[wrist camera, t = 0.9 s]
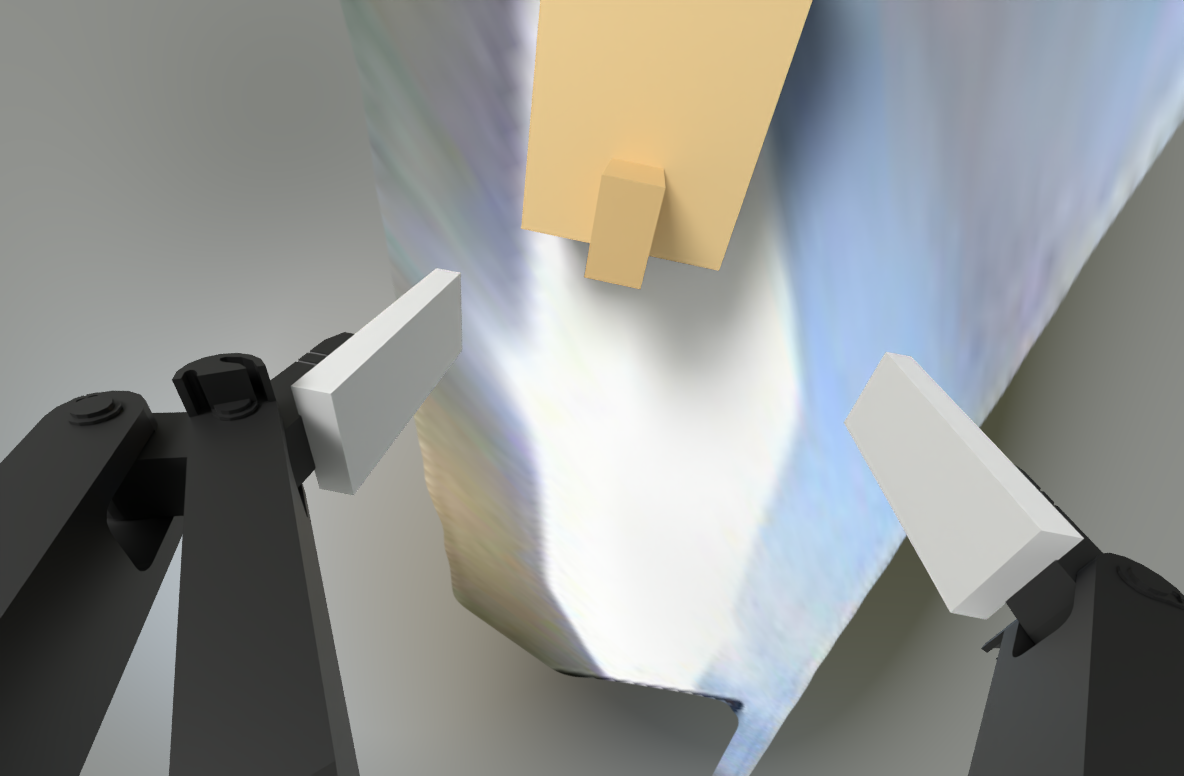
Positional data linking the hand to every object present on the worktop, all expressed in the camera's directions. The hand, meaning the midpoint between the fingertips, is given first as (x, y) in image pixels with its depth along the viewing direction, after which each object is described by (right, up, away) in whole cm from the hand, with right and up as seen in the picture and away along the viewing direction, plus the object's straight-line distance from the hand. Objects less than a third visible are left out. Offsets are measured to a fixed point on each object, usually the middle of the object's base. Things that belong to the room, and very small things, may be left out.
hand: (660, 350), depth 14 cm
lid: (+1, +16, +10) cm, 19 cm away
